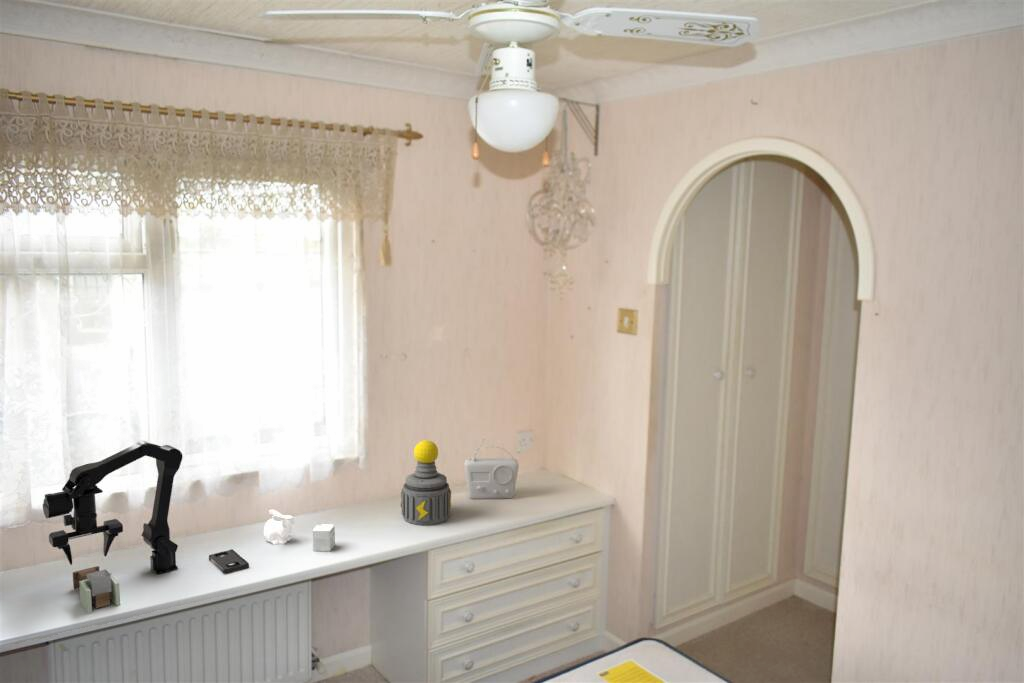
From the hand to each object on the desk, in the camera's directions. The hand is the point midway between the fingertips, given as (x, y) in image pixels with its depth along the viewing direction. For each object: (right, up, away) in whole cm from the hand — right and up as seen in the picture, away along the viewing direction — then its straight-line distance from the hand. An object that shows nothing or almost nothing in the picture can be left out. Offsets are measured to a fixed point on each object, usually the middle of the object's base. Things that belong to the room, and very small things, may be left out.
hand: (88, 560), depth 235 cm
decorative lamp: (+93, -2, +66) cm, 114 cm away
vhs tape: (+34, -8, +21) cm, 41 cm away
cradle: (+6, -10, -6) cm, 14 cm away
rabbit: (+45, -5, +40) cm, 61 cm away
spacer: (+7, -7, -8) cm, 13 cm away
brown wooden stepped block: (+4, -10, -3) cm, 11 cm away
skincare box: (+62, -6, +35) cm, 71 cm away
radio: (+117, +1, +90) cm, 148 cm away
